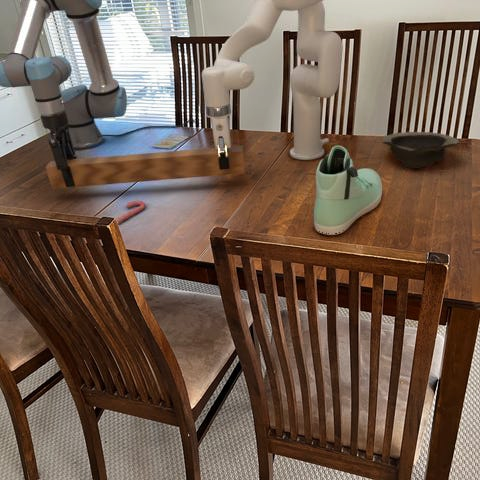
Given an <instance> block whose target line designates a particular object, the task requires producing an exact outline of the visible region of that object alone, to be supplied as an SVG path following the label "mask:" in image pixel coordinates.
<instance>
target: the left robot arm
mask: <svg viewBox="0 0 480 480" xmlns="http://www.w3.org/2000/svg"><path fill="white" fill-rule="evenodd" d="M102 5H103V0H20V1H19V7H20V9H21V10H20V13H19V15H18V19H17V22H16V24H15V25H16V26H15V28H14V32H13V35H12V38H11V41H10V44H9V47H8V50H7V54H6V56H5V60H4V61H0V87H2V88H20V87H21V88H22V87H30V88H31V91H32V93H33V97H34V101H35V104H36V108H37V111H38V114H39V115H40V116H39V117H40V120H41V123H42V128H44V129H46V130H49V132H50V139H48V144H49V147H50V149H51V153H52V155H53V159H54V161H55V163H56V166H57V169H58V170H61V172H62V175H63V178H64V182H65V185H66V187H70V188H76V187H75V183H74V180H73V177H72V173H71V170H70V167H68V163H67V160H72V159H78V157H77V155H76V150H85V149H92V148H94V147H97V146H99V145H102V143H104V138H105V137H113V138H114V137H115V138H117V137H123V136H126V135H128V134H132V133H135V132H138V131H140V130H145V129H154V128H156V129H157V128H159V129H160V128H161V129H162V128H166V129H167V128H168V129H173V128H174V129H175V128H182V127H184V126H186V125H188V124H189V123H190V122H193V123H197V121H196V120H195V119H187V121H185V122H184V123H183V124H179V125H147V126H142V127H138V128H135V129H133V130H130V131H127V132H123V133H120V134H102V132H101V130H100V129H99V127H98V125H97V124H96V121H95V120H96V119H115V118H121V117H124V116H125V115H126V112H127V107H128V98H127V97H128V96H127V90H126V88H125V87H124V86H120V83H119V80H117V79H115V78H114V77H113V72H112V68H111V64H110V62H109V58H108V57H109V56H108V54H107V51H106V50H107V49H106V47H105V42H104V40H103V36H102V32H101V29H100V25H99V20H98V15H99V14H100V8H101V7H102ZM53 12H65V16H66V18H67V19H68V20H70V21H72V24H73V28H74V31H75V33H76V37H77V41H78V43H79V46H80V50H81V53H82V57H83V59H84V63H85V67H86V69H87V73H88V76H89V80H90V82H91V83H90V85H89V87H88V86H87V85H86V84H80V85H75V86H70V87H67V88H65V89H63V90H61V89H60V85H62V84H63V83H65V82H67V81H68V79H69V78H70V77H71V75H72V72H73V71H72V64H71V63H70V62H69V60H68V59H67V58H65V57H64V56H62V55H54V56H51V57H48V56H40V57H39V56H38V57H35V56H36V53H37V49H38V45H39V42H40V38H41V35H42V31H43V29H44V25H45V22H46V20H47V19H49V17H50V15H51V13H53Z"/></svg>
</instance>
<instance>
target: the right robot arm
mask: <svg viewBox="0 0 480 480" xmlns="http://www.w3.org/2000/svg"><path fill="white" fill-rule="evenodd" d="M323 1H324V0H255V1H254V2H253V4H252V6H251V8H250V11H249V13H248V15H247V17H246V19H245V21H244V23H243V24H242V25H241V26H240V27H239V28H238V29H237V30H235V31H234V32H233V34H231V35H230V36H229V38H227V39H226V41H225V42H224V43H223V45H222V46H221V49H220V50H219V51H218V54H217V56H216V59H215V61H214V64H213V65H212V66H209V67H205V68H203V70H202V72H201V81H202V89H203V90H202V91H203V97H204V105H205V106H204V107H205V113H206V117H207V118H209V119H210V122H211V129H212V136H213V137H212V138H213V142H214V148H216V149H217V150H218V155H219V157H218V160H219V169H220V170H223V169H229V158H228V156H227V148H231V146H232V139H231V138H232V137H231V128H230V127H231V125H230V119H229V117H230V116H231V115H232V110H231V107H232V106H231V99H230V97H231V96H230V91H236V90H237V91H238V90H239V91H240V90H244V89H247V88H249V87H250V86H251V85H252V84H253V83H254V80H255V71H254V69H253V67H252V66H251V65H249V64H248V63H245V62H241V61H239V60H240V59H241V57H242V56H243V55H244V54H245V53H246V52H247V51H248V50H250V49H252V48H253V47H256V46H257V45H260V44H262V43H263V42H266V41H267V40H268V39H269V38H270V37H271V35H272V33H273V31H274V28H275V27H276V25H277V23H278V21H279V18H280V16H281V15H282V12H283V11H287V12H288V11H289V12H295V11H297V15H298V16H297V17H298V18H297V34H296V36H297V37H296V38H297V39H296V54H297V56H298V57H299V58H300V59H302V60H305V61H310V62H315V63H318V65H315V64H308V63H302V64H299V65H297V66H296V67H294V68H293V69H292V71H291V73H290V76H289V83H290V89H291V95H292V102H293V104H292V105H293V147H292V148H291V149H289V156H290V157H291V158H293V159H296V160H300V161H311V160H317V159H320V158H322V157H323V156H324V155H325V149H324V148H323V146H324V145H326V144H328V143H330V139H329V138H328V137H327V138H323V139H322V138H321V119H322V118H321V115H322V113H321V112H322V106H321V105H322V104H321V100H320V98H321V99H330V98H332V97H334V95H335V94H336V92H337V91H338V89H339V85H340V79H341V71H342V70H341V69H342V61H343V51H344V47H343V46H344V45H343V42H342V39H341V37H340V35H339V34H338V33H336V32H334V31H331V30H325V23H326V10H325V9H326V8H325V5H324V3H323ZM219 147H220V148H219ZM224 147H225V148H224ZM224 150H225V151H224Z"/></svg>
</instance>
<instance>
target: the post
mask: <svg viewBox="0 0 480 480" xmlns="http://www.w3.org/2000/svg"><path fill="white" fill-rule="evenodd" d="M219 148H220V147H219ZM224 148H225V147H224ZM224 151H225V150H224ZM227 156H228V158H229V169H223V170H220V169H219V160H218V157H219V155H218V150H217V149H216V148H215V147H206V148H196V149H195V148H194V149H182V150H180V149H179V150H172V151H170V150H169V151H158V152H156V151H155V152H144V153H134V154H120V155H110V156H98V157H97V156H96V157H86V158H85V157H84V158H77V159H72V160H67V163H68V167H70V170H71V173H72V177H73V180H74V183H75V187H74V188H80V187H81V188H82V187H83V188H84V187H92V186H93V187H94V186H105V185H119V184H130V183H142V182H152V181H153V182H154V181H168V180H178V179H190V178H203V177H216V176H217V177H218V176H227V175H228V176H229V175H240V174H245V173H246V172H245V159H244V158H245V157H244V146H243V145H231V148H227ZM45 171H46V174H47V176H48V180H49V183H50V187H51V189H52V190H57V189H69V188H70V189H71V187H66V185H65V182H64V178H63V175H62V172H61V170H58V169H57V166H56V163H55V160H50V161H49V162H48V163H47V165H46V166H45Z"/></svg>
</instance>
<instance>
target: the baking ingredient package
mask: <svg viewBox="0 0 480 480" xmlns="http://www.w3.org/2000/svg"><path fill="white" fill-rule="evenodd" d="M188 138H189V136H186V135H178V134H177V135H176V134H171V135H169V136H167V137H165V138H163V139H162V140H160V141H158V142H157V143H155V144H153V145H152V147H154V148H162V149H171V148H173V147H175V146H177V145H178V144H180V143H182V142H184V141H185V140H186V139H188Z"/></svg>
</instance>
